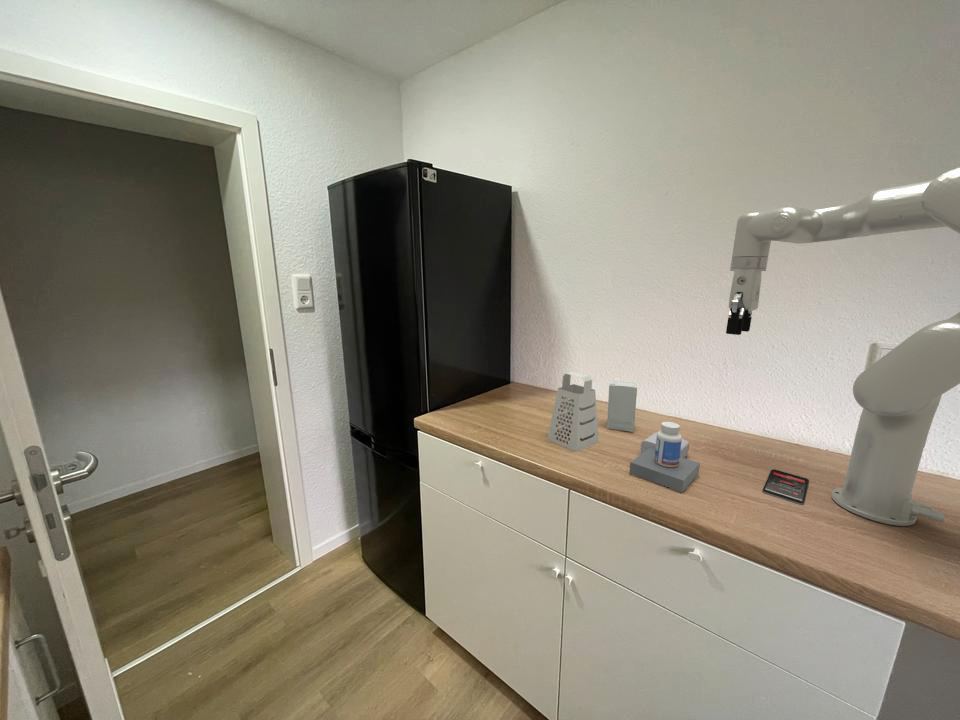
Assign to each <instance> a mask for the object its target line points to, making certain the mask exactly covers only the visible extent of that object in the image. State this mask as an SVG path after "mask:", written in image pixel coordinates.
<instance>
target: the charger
mask: <svg viewBox="0 0 960 720" xmlns="http://www.w3.org/2000/svg"><path fill="white" fill-rule="evenodd" d="M658 432H659V431H657V432H654V433H653V434H651V435H650V436H648V437H646V438H645V439H644V440H643V441H641V445H640V451H639V453H640V455H641V454H642V453H643V452H645V451H646V450H647V449H649V448H653V449H655V448H656V438H657V433H658ZM689 448H690V442H689V441H688V440H686V439H684V438H682V442H681V450H680V457H682V458H685V459H686V457H687V456H688V454H689Z"/></svg>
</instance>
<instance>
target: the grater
mask: <svg viewBox="0 0 960 720" xmlns="http://www.w3.org/2000/svg"><path fill="white" fill-rule="evenodd" d="M572 376H574V377H579V378H581V379H582V380H583V382H584V383H583V386H582V385H579V384H575V383H574V384H571V377H572ZM561 382H562V385H561V387H558V388H557V391H556V397H555V400H554V405H553V410H552V415H551V419H550V424H549V429H548V434H547V439H548V441H550V442H553V443H555V444H557V445H560V446H562V447H564V448H567V449H569V450H571V451H574V452H576V453H577V452H580V451H582V450H585V449H586V448H589V447H590V446H594V445H596V444H598V443H599V439H600V438H599V430H598V429H599V427H598V426H599V425H598V412H597V397H596V389H593V388H592V387H593V378H592V376H591V375H589V374H584V373H580V372H577V371H571V372H567V373H564V374H563V375H562V380H561ZM562 436H563V437H562ZM565 437H566V438H565ZM557 438H558V439H557ZM585 438H587V439H585ZM547 439H546V440H547ZM560 439H561V441H560ZM581 439H582V441H581ZM584 439H585V440H584ZM567 442H568V443H567Z"/></svg>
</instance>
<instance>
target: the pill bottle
mask: <svg viewBox="0 0 960 720" xmlns="http://www.w3.org/2000/svg"><path fill="white" fill-rule="evenodd" d="M680 428H681V426H680V425H679V424H678V423H676V422H672V421H663V422H661V423H660V430H659V431H657V432H658V433H657V438H656V448H655V458H654V459H655V462H656V463H658V464H659V465H662V466H665V467H676V466H678V465H679V459H680V450H681V442H682V439H683V437H682V435H681V434H680Z"/></svg>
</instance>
